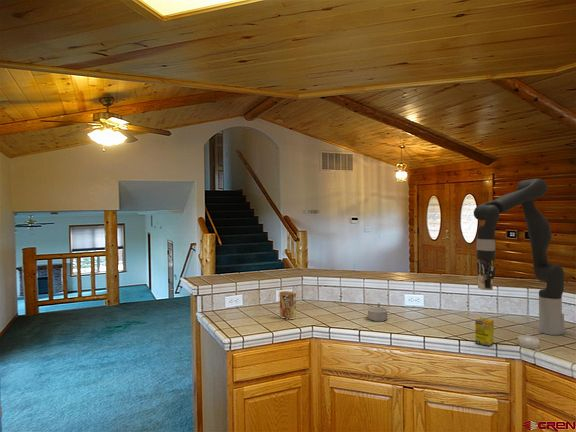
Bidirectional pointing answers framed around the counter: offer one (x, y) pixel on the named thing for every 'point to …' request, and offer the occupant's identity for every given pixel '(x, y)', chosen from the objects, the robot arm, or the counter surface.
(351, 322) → the counter surface
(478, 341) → the supplement box
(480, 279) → the beech block
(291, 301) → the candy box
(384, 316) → the saucepan
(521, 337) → the white rounded lump
